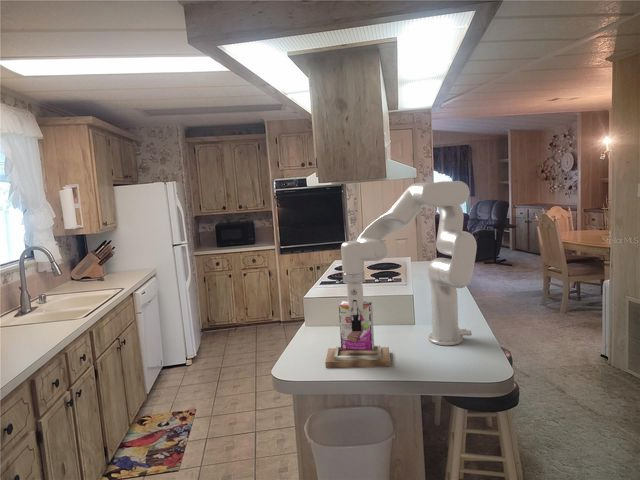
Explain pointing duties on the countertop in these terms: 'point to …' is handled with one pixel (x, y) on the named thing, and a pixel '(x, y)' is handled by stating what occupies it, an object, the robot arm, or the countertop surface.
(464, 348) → the countertop surface
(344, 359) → the walnut plinth
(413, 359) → the countertop surface
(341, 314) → the candy bar box
